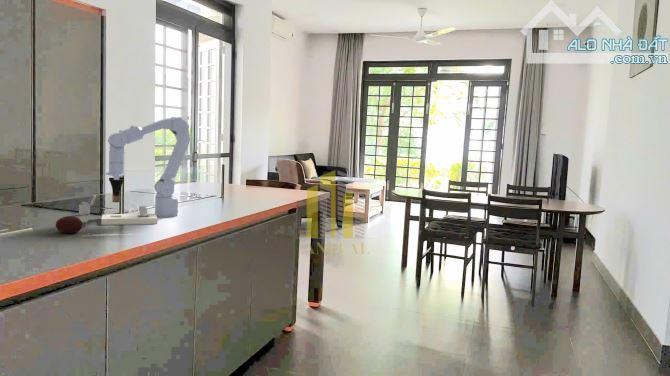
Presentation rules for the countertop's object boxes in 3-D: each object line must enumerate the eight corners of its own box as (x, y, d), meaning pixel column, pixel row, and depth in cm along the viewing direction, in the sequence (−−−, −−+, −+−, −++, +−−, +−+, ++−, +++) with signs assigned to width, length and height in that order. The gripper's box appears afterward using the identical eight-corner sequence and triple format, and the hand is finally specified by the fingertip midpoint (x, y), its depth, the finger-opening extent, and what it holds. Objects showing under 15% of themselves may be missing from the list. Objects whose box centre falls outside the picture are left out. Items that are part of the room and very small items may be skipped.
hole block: (155, 220, 198) (155, 213, 197) (157, 225, 189) (157, 218, 188) (102, 221, 189) (102, 214, 189) (101, 226, 180) (101, 219, 180)
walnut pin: (119, 201, 198) (120, 182, 197) (119, 202, 195) (120, 183, 194) (112, 201, 197) (112, 182, 196) (112, 202, 194) (112, 183, 193)
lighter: (81, 215, 198) (81, 196, 197) (78, 214, 199) (78, 196, 198) (96, 213, 205) (96, 195, 204) (93, 212, 206) (93, 194, 205)
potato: (57, 230, 170) (57, 214, 169) (83, 230, 173) (83, 214, 172) (54, 235, 163) (54, 218, 162) (81, 234, 166) (81, 218, 165)
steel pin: (146, 220, 193) (146, 206, 192) (147, 222, 190) (147, 207, 190) (139, 220, 192) (139, 206, 191) (139, 222, 189) (139, 207, 188)
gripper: (106, 160, 199) (105, 192, 200) (105, 163, 186) (105, 197, 187) (124, 161, 202) (124, 192, 203) (125, 164, 189) (124, 197, 190)
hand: (116, 195), depth 196 cm, fingers closed on walnut pin, 3 cm apart
